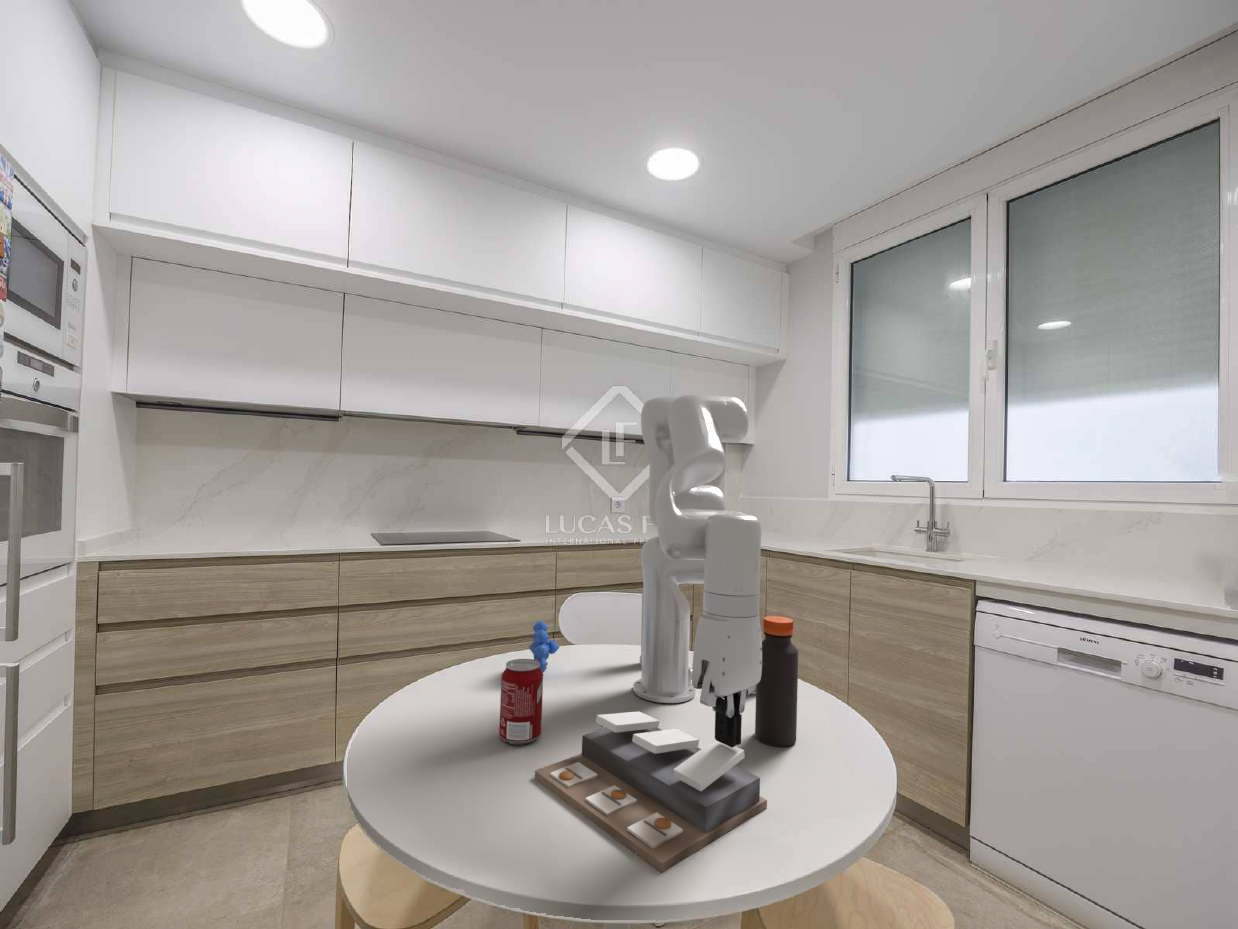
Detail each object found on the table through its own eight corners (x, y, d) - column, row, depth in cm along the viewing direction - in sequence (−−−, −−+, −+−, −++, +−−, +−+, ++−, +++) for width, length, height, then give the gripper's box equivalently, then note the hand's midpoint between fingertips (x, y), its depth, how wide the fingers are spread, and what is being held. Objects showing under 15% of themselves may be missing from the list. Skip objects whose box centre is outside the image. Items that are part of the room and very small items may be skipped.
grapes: (560, 683, 118) (563, 625, 118) (528, 684, 116) (530, 626, 117) (556, 665, 129) (558, 613, 130) (526, 666, 128) (528, 613, 128)
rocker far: (638, 718, 90) (639, 711, 91) (658, 727, 87) (659, 720, 87) (595, 722, 85) (596, 715, 85) (615, 732, 81) (616, 725, 81)
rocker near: (717, 745, 78) (717, 738, 78) (744, 757, 75) (744, 750, 75) (674, 776, 73) (673, 769, 72) (701, 791, 69) (700, 784, 69)
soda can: (532, 750, 88) (535, 672, 89) (492, 744, 90) (495, 668, 90) (546, 731, 95) (549, 659, 95) (508, 726, 96) (511, 655, 97)
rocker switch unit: (636, 739, 93) (637, 714, 93) (766, 807, 75) (767, 776, 75) (534, 777, 80) (535, 749, 80) (661, 872, 61) (662, 835, 61)
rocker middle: (675, 735, 84) (676, 728, 85) (698, 747, 81) (699, 739, 81) (632, 741, 79) (633, 734, 79) (655, 753, 75) (656, 746, 75)
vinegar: (803, 739, 96) (806, 620, 96) (784, 752, 91) (787, 626, 91) (766, 726, 100) (769, 612, 101) (747, 738, 95) (750, 618, 96)
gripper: (741, 595, 85) (738, 719, 84) (673, 606, 75) (669, 747, 74) (785, 603, 79) (782, 737, 78) (718, 617, 69) (714, 770, 68)
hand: (727, 742), depth 76 cm, fingers closed
